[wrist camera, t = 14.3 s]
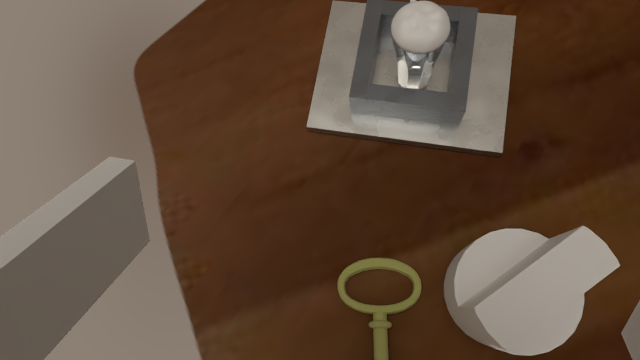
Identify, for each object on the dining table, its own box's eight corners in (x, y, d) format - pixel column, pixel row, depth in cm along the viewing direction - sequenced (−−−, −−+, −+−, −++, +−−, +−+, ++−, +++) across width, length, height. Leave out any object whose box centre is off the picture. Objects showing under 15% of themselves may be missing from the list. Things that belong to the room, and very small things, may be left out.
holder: (512, 23, 45) (527, -8, 41) (499, 157, 42) (513, 139, 37) (334, 7, 48) (329, -23, 44) (308, 131, 45) (300, 112, 40)
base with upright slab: (503, 218, 40) (551, 185, 29) (577, 305, 38) (663, 305, 26) (421, 279, 40) (438, 269, 29) (491, 370, 37) (540, 400, 26)
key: (378, 413, 38) (378, 419, 36) (331, 270, 42) (329, 268, 40) (460, 385, 38) (465, 390, 36) (406, 244, 41) (407, 241, 39)
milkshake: (428, 42, 44) (441, -30, 35) (443, 90, 43) (461, 29, 33) (382, 53, 45) (383, -15, 35) (395, 102, 43) (400, 44, 34)
